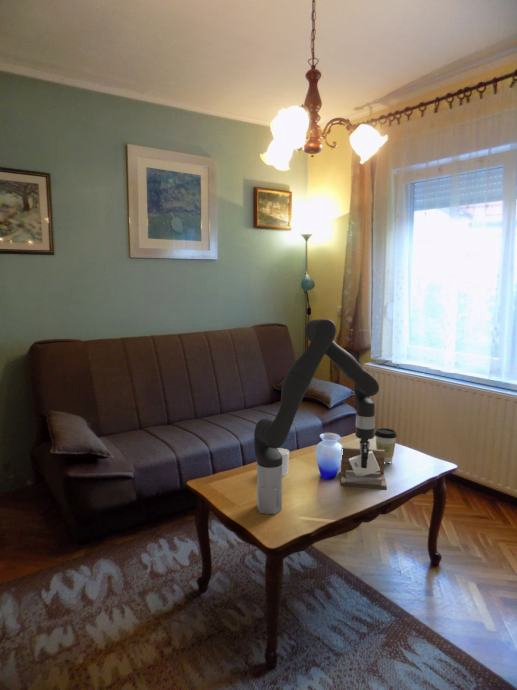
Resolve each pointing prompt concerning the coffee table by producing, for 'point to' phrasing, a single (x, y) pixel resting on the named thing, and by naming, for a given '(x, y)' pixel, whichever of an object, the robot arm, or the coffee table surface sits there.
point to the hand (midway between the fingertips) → (363, 466)
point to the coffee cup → (386, 442)
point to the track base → (348, 466)
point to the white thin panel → (371, 465)
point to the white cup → (284, 460)
